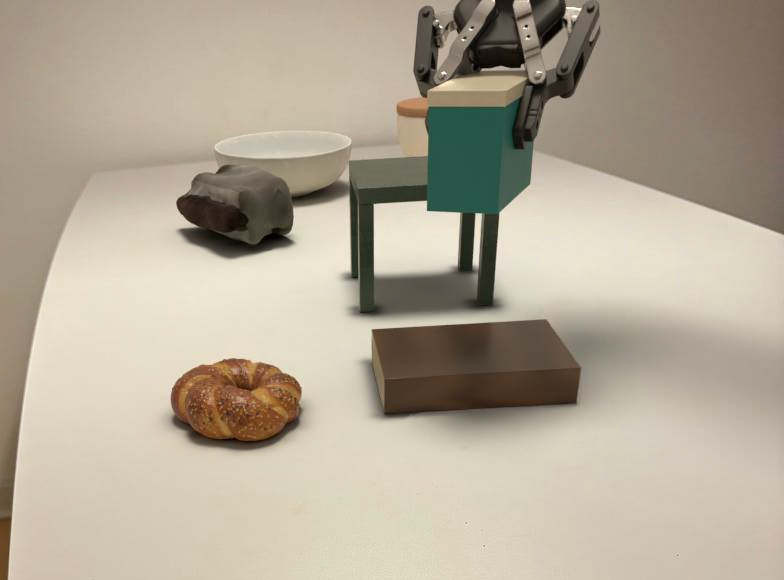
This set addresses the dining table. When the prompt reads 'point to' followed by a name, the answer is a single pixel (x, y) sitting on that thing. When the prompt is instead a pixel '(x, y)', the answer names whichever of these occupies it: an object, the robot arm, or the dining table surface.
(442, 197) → the box
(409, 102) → the lidded bowl
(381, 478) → the dining table surface
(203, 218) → the rock
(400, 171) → the upper shelf
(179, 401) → the pretzel
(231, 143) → the serving bowl
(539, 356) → the low shelf
